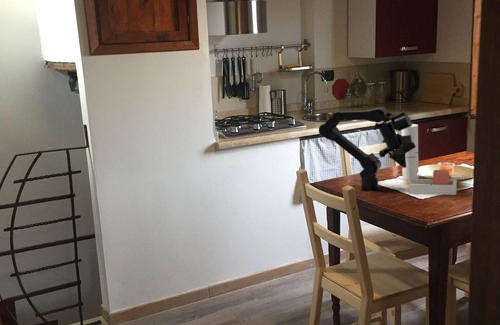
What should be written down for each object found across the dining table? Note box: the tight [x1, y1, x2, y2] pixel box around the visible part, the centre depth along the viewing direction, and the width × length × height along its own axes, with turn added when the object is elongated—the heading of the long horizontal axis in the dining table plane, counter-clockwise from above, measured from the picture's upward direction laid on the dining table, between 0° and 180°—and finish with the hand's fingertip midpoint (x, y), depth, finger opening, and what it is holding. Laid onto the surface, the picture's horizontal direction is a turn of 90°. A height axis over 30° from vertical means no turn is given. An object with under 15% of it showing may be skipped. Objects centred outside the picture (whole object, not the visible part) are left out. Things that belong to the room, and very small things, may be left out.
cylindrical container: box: [401, 123, 420, 181], centre depth 240 cm, size 7×7×25 cm
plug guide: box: [408, 178, 458, 196], centre depth 221 cm, size 19×9×4 cm, turn 68°
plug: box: [432, 169, 450, 185], centre depth 219 cm, size 6×6×8 cm
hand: (405, 167), depth 224 cm, fingers closed
